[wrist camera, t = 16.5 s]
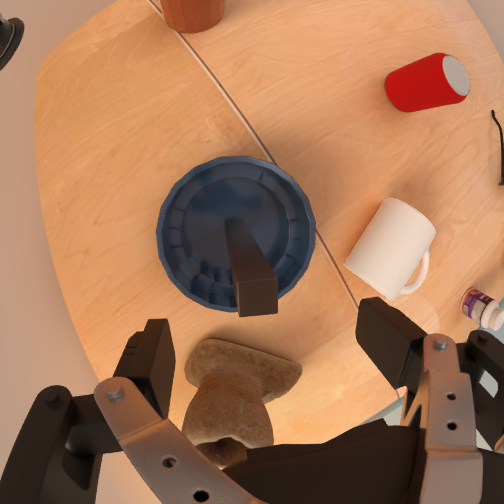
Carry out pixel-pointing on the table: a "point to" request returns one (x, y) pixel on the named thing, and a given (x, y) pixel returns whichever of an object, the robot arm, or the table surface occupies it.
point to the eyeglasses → (503, 149)
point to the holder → (192, 14)
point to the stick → (250, 272)
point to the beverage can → (427, 83)
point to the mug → (393, 249)
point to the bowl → (225, 208)
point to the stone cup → (233, 398)
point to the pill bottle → (482, 309)
